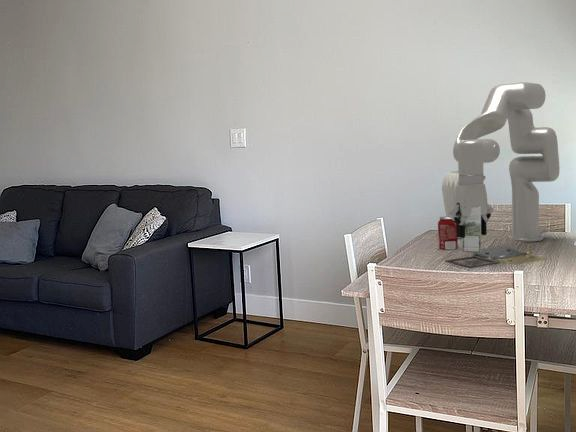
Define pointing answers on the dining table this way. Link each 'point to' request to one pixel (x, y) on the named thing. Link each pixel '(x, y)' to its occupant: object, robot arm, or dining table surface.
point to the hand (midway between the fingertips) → (471, 235)
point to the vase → (449, 191)
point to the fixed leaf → (520, 259)
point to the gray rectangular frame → (472, 265)
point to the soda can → (447, 234)
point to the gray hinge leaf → (499, 252)
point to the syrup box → (472, 231)
